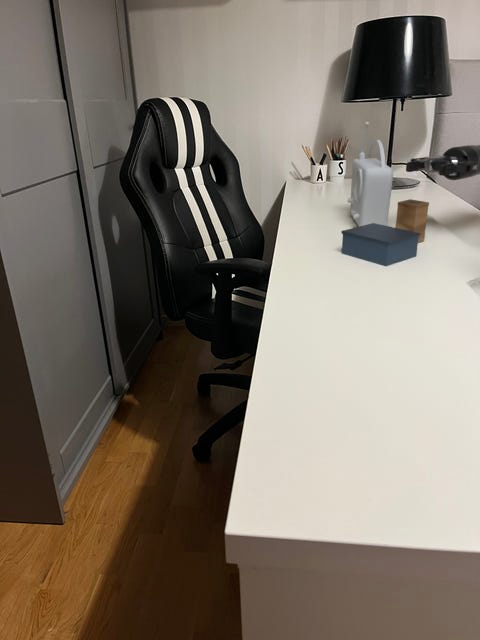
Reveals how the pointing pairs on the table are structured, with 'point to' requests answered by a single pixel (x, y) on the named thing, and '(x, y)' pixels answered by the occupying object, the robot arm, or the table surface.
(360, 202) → the radio
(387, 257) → the storage box
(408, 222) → the brown wooden block
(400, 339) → the table surface
